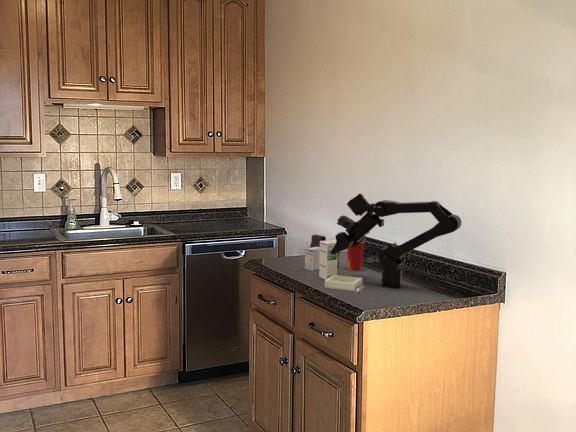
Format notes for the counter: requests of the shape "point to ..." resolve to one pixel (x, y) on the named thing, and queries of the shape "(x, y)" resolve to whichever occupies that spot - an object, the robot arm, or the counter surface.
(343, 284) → the tray
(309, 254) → the medicine box
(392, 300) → the counter surface
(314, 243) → the phone stand
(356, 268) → the paper cup
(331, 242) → the syrup box
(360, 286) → the rod
